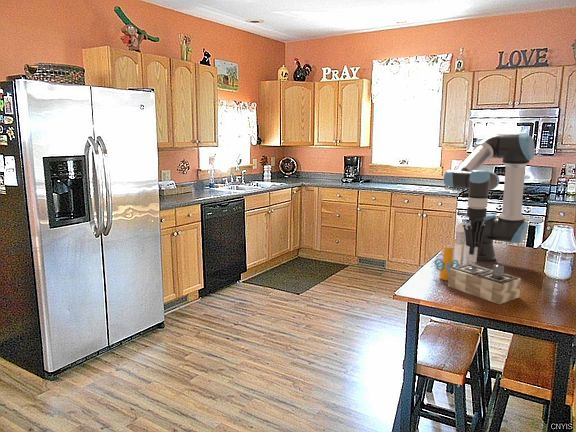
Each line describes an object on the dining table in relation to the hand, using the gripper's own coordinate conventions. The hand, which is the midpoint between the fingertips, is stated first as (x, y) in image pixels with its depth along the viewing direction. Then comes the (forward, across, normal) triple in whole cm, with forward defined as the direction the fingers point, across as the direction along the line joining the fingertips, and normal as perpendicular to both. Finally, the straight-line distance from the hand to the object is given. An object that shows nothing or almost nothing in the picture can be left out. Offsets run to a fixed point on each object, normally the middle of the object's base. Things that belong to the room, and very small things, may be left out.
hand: (472, 261), depth 194 cm
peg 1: (+11, +1, 0) cm, 11 cm away
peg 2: (+7, 0, +12) cm, 14 cm away
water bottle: (+12, -17, -18) cm, 28 cm away
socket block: (+12, +1, +6) cm, 13 cm away
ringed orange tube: (+12, 0, -13) cm, 17 cm away
